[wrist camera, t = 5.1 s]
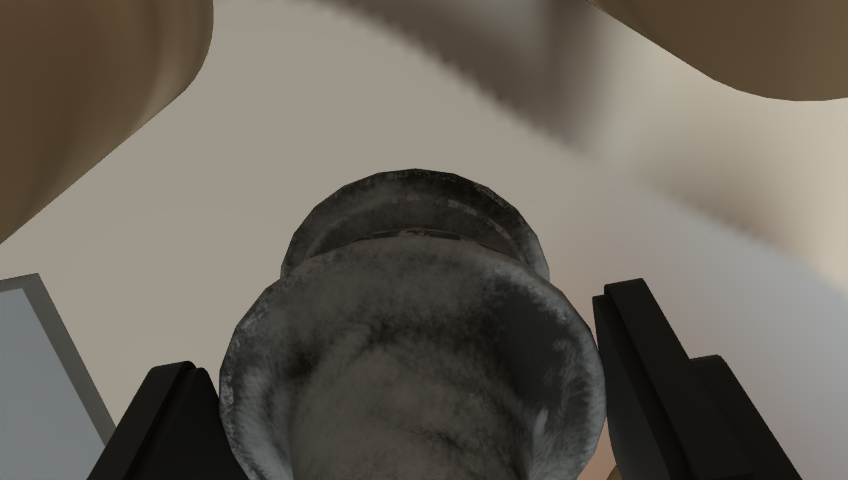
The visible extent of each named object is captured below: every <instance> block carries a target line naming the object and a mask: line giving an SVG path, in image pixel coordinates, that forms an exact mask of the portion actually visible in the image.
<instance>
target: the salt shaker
mask: <svg viewBox="0 0 848 480" xmlns="http://www.w3.org/2000/svg"><path fill="white" fill-rule="evenodd" d="M219 377H220V378H219V415H220V418H221V421H222V425H223V428H224V430H225V433H226V436H227V439H228V442H229V444H230V447H231V450H232V453H233V455H234V456H235V458H236V459H237V461H238V463H239V464H240V466H241V467H242V469H243V470H244V472H245V473H246V475H247V476H248V478H249V479H250V480H577V478H578V476H579V475H580V474H581V472H582V471H583V469H584V468H585V466H586V465H587V463H588V462H589V460H590V459H591V457H592V456H593V455H594V453H595V450H596V447H597V444H598V440H599V437H600V434H601V431H602V428H603V425H604V422H605V418H606V415H607V397H606V387H605V378H604V371H603V364H602V360H601V357H600V354H599V352H598V349H597V346H596V343H595V340H594V338H593V335H592V332H591V329H590V328H589V326H588V325H587V324H586V322H585V321H584V320H583V318H582V317H581V316H580V315H579V314H578V312H577V311H576V309H575V308H574V307H573V305H572V304H571V303H570V302H569V300H568V299H567V298H566V296H565V295H564V294H563V292H562V291H560V290H559V289H558V288H556V287H555V286H553V285H552V284H551V283H550V278H549V267H548V265H547V262H546V259H545V256H544V254H543V251H542V248H541V246H540V243H539V240H538V237H537V235H536V234H535V233H534V231H533V230H532V229H531V228H530V226H529V225H528V223H527V222H526V221H525V219H524V218H523V217H522V215H521V214H520V213H519V211H518V210H517V209H516V208H515V207H513V206H512V205H511V204H509V203H508V202H507V201H505V200H504V199H503V198H501V197H500V196H499V195H497V194H496V193H495V192H493V191H492V190H491V189H489V188H488V187H486V186H483V185H481V184H478V183H475V182H473V181H471V180H468V179H466V178H463V177H460V176H458V175H456V174H453V173H446V172H437V171H431V170H423V169H407V170H400V171H399V170H398V171H390V172H382V173H376V174H374V175H371V176H368V177H366V178H363V179H361V180H358V181H356V182H353V183H350V184H348V185H345V186H343V187H342V188H340V189H339V190H337V191H336V192H335V193H333V194H332V195H331V196H329V197H328V198H326V199H325V200H324V201H322V202H321V203H319V204H318V205H317V206H315V207H314V208H313V210H312V211H311V213H310V214H309V215H308V216H307V217H306V219H305V220H304V221H303V222H302V224H301V225H300V226H299V228H298V229H297V230H296V232H295V233H294V234H293V237H292V240H291V242H290V245H289V247H288V250H287V253H286V255H285V258H284V260H283V263H282V266H281V275H280V279H279V280H277V281H276V282H275V283H273V284H272V285H270V286H269V287H267V288H266V289H265V290H264V291H263V293H262V294H261V295H260V296H259V298H258V299H257V300H256V301H255V303H254V304H253V305H252V307H251V308H250V309H249V311H248V312H247V313H246V314H245V315H244V317H243V318H242V319H241V320H240V322H239V323H238V324H237V326H236V328H235V330H234V333H233V335H232V338H231V341H230V344H229V346H228V349H227V352H226V355H225V357H224V360H223V363H222V365H221V368H220V375H219Z"/></svg>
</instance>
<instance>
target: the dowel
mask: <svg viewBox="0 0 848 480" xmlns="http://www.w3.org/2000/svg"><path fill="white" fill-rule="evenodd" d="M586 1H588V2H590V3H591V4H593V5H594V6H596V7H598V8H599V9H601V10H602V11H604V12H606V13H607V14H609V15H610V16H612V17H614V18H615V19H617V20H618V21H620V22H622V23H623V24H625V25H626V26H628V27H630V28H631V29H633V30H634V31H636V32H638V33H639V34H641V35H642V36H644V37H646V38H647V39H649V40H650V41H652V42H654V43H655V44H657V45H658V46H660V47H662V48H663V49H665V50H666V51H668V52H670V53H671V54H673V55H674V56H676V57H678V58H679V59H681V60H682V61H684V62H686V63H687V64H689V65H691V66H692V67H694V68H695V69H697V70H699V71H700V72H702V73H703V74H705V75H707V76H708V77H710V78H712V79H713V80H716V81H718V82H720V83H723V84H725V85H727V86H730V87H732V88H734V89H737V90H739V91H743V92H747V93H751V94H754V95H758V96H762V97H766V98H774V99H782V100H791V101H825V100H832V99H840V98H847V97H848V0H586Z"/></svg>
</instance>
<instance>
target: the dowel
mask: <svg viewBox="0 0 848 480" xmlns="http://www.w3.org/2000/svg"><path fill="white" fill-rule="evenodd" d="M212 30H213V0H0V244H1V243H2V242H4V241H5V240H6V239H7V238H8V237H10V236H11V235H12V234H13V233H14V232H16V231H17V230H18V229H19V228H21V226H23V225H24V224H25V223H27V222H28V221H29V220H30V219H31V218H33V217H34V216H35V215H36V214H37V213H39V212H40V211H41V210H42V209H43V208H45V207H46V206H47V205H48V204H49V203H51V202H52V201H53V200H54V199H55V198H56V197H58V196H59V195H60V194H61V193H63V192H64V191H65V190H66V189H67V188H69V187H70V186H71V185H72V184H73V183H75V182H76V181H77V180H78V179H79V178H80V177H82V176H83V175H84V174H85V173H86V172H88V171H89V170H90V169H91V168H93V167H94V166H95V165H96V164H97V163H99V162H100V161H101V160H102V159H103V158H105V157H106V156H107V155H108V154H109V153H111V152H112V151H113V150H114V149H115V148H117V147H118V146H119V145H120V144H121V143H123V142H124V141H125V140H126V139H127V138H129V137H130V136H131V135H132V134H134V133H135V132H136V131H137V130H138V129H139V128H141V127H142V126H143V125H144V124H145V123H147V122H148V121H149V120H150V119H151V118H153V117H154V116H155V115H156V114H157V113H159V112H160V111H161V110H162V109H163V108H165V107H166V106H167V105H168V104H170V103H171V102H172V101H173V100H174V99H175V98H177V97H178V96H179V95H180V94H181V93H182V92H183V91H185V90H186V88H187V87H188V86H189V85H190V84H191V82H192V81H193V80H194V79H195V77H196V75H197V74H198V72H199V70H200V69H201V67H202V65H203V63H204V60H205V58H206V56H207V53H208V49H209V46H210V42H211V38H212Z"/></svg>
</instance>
